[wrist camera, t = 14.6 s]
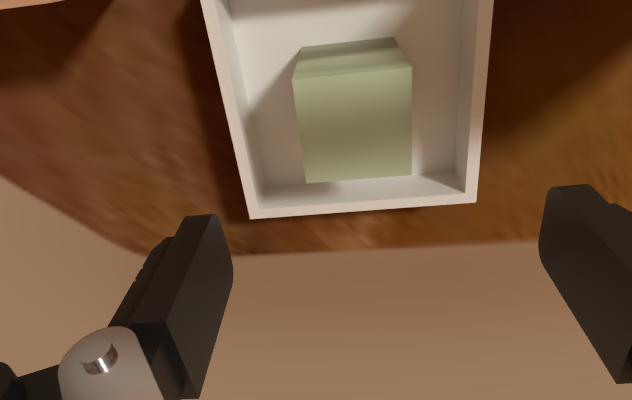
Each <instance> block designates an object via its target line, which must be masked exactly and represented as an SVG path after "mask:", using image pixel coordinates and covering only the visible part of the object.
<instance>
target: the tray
mask: <svg viewBox="0 0 632 400" xmlns="http://www.w3.org/2000/svg"><path fill="white" fill-rule="evenodd" d="M200 2H201V6H202V10H203V15H204V19H205V24H206V28H207V32H208V37H209V41H210V45H211V50H212V54H213V59H214V63H215V67H216V72H217V76H218V81H219V85H220V89H221V94H222V98H223V103H224V107H225V111H226V116H227V120H228V125H229V129H230V133H231V138H232V142H233V147H234V151H235V155H236V160H237V164H238V168H239V173H240V177H241V182H242V186H243V190H244V195H245V199H246V204H247V208H248V212H249V217H250V219H261V218H274V217H288V216H301V215H314V214H328V213H341V212H354V211H367V210H381V209H394V208H407V207H421V206H434V205H447V204H460V203H474V202H476V198H477V186H478V175H479V163H480V152H481V141H482V129H483V118H484V106H485V95H486V84H487V72H488V61H489V49H490V38H491V27H492V15H493V4H494V0H200ZM389 37H393V38H394V39H395V41H396V43H397V44H398V46H399V47H400V49H401V51H402V52H403V54H404V55H405V57H406V59H407V60H408V62H409V63H410V65H411V67H412V175H407V176H394V177H382V178H370V179H357V180H345V181H332V182H320V183H307V184H306V179H305V172H304V165H303V157H302V150H301V143H300V136H299V129H298V122H297V114H296V107H295V100H294V93H293V86H292V77H293V74H294V71H295V67H296V64H297V61H298V58H299V55H300V52H301V48H302V47H306V46H315V45H324V44H334V43H343V42H352V41H361V40H370V39H380V38H389Z"/></svg>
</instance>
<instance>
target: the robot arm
mask: <svg viewBox="0 0 632 400" xmlns="http://www.w3.org/2000/svg"><path fill="white" fill-rule="evenodd" d="M538 246H539V247H538V248H539V254H540V259H541V262H542V264H543V266H544V268H545V269H546V271H547V273H548V274H549V276H550V278H551V279H552V281H553V282H554V284H555V286H556V287H557V289H558V290H559V292H560V293H561V295H562V297H563V299H564V300H565V302H566V303H567V305H568V307H569V308H570V310H571V311H572V313H573V315H574V316H575V318H576V319H577V321H578V322H579V324H580V326H581V328H582V329H583V331H584V332H585V334H586V336H587V337H588V339H589V340H590V342H591V344H592V345H593V347H594V348H595V350H596V352H597V353H598V355H599V357H600V358H601V360H602V361H603V363H604V365H605V366H606V368H607V369H608V371H609V373H610V374H611V376H612V378H613V379H614V381H615V382H616V384H623V383H632V212H631V211H629V210H627V209H625V208H623V207H621V206H619V205H617V204H609V203H608V202H607V201H606V200H605V199H604V198H603V197H602V196H601V195H600V194H599V193H598V192H597V191H596V190H595V189H594V188H593V187H592V186H590V185H588V184H583V185H571V186H559V187H552V188H551V189H550V190H549V191H548V194H547V198H546V203H545V208H544V214H543V219H542V225H541V230H540V235H539V242H538ZM232 283H233V265H232V260H231V256H230V253H229V250H228V246H227V243H226V239H225V236H224V232H223V229H222V225H221V222H220V219H219V217H218V216H217V215H216V214H208V215H196V216H186V217H185V218H184V219H183V221H182V223H181V225H180V227H179V229H178V231H177V232H176V234H175V236H174V237H167V238H165V239H164V240H163V241H162V242H161V243H160V244H159V245H157V246H156V247H155V248H154V249H153V250H152V251H151V252H150V254H149V256H148V258H147V259H146V261H145V263H144V264H143V269H141V270H140V272H139V273H138V275H137V277H136V281H135V282H133V284H132V285H131V287H130V289H129V290H128V292H127V294H126V296H125V298H124V299H123V301H122V303H121V305H120V306H119V308H118V310H117V311H116V313H115V315H114V316H113V318H112V320H111V322H110V323H109V325H108V327H107V328H103V329H100V330H97V331H95V332H93V333H91V334H89V335H87V336H85V337H84V338H82V339H81V340H80V341H78V342H77V343H76V344H75V345H73V346H72V347H71V349H69V350H68V352H67V353H66V354H65V356H64V357H63V359H62V360H61V362H60V364H59V365H56V366H52V367H49V368H46V369H43V370H40V371H36V372H33V373H30V374H27V375H24V376H21V377H17V376H16V375H15V373H14V372H13V371H12V369H11V368H10V367H9V366H8V365H7V364H5V363H2V362H0V400H180V399H198V398H199V397H200V393H201V390H202V386H203V383H204V380H205V376H206V373H207V369H208V366H209V362H210V359H211V355H212V352H213V349H214V345H215V342H216V339H217V335H218V332H219V328H220V325H221V321H222V318H223V315H224V311H225V308H226V304H227V301H228V298H229V294H230V291H231V287H232Z"/></svg>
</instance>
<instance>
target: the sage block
mask: <svg viewBox="0 0 632 400" xmlns="http://www.w3.org/2000/svg"><path fill="white" fill-rule="evenodd" d="M292 86H293V93H294V100H295V107H296V114H297V122H298V129H299V136H300V143H301V150H302V157H303V165H304V172H305V179H306V184H307V183H320V182H332V181H345V180H357V179H370V178H382V177H394V176H407V175H412V67H411V65H410V63H409V62H408V60H407V59H406V57H405V55H404V54H403V52H402V51H401V49H400V47H399V46H398V44H397V43H396V41H395V39H394V38H393V37H389V38H380V39H370V40H361V41H352V42H343V43H334V44H324V45H315V46H306V47H302V48H301V52H300V55H299V58H298V61H297V64H296V67H295V71H294V74H293V77H292Z"/></svg>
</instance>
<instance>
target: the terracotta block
mask: <svg viewBox="0 0 632 400" xmlns="http://www.w3.org/2000/svg"><path fill="white" fill-rule="evenodd" d="M58 1H63V0H0V9H7V8H15V7H23V6H30V5H38V4H45V3H53V2H58Z"/></svg>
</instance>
